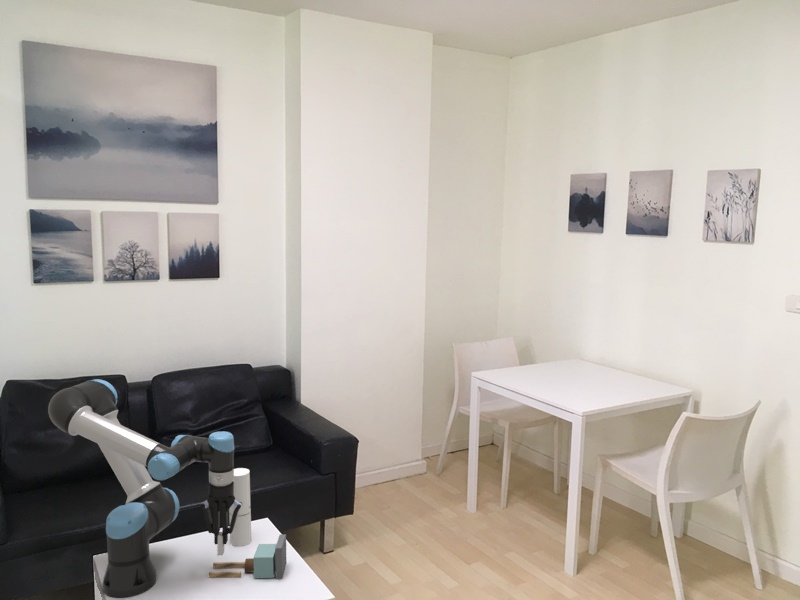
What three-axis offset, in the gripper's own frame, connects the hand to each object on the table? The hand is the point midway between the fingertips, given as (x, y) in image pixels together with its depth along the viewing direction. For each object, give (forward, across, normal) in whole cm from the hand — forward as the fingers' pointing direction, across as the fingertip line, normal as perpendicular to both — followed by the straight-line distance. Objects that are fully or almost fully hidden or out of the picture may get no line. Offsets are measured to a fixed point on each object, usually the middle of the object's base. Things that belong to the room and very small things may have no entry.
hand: (221, 553), depth 204 cm
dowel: (+6, +12, -1) cm, 13 cm away
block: (+5, +14, -1) cm, 15 cm away
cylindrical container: (+6, +2, +19) cm, 20 cm away
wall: (+5, +19, -1) cm, 20 cm away
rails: (+6, +2, -1) cm, 6 cm away
